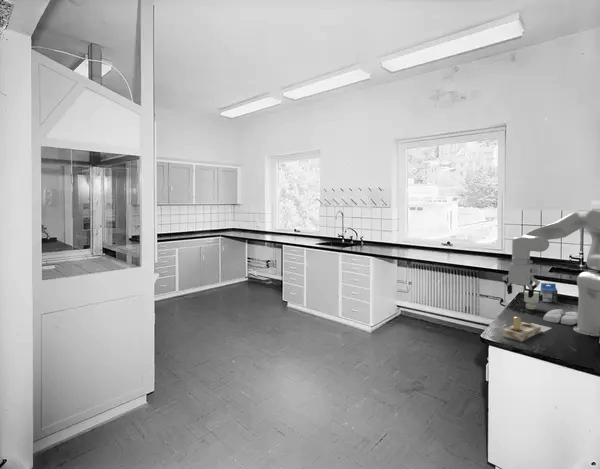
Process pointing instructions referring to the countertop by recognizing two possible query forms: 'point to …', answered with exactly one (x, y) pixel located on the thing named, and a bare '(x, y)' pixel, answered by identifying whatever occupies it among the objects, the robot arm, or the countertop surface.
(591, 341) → the countertop surface
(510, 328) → the hole block
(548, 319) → the lung model
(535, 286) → the robot arm
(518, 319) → the brass peg
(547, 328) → the rubber mat
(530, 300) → the pneumatic valve
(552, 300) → the label tape cartridge
